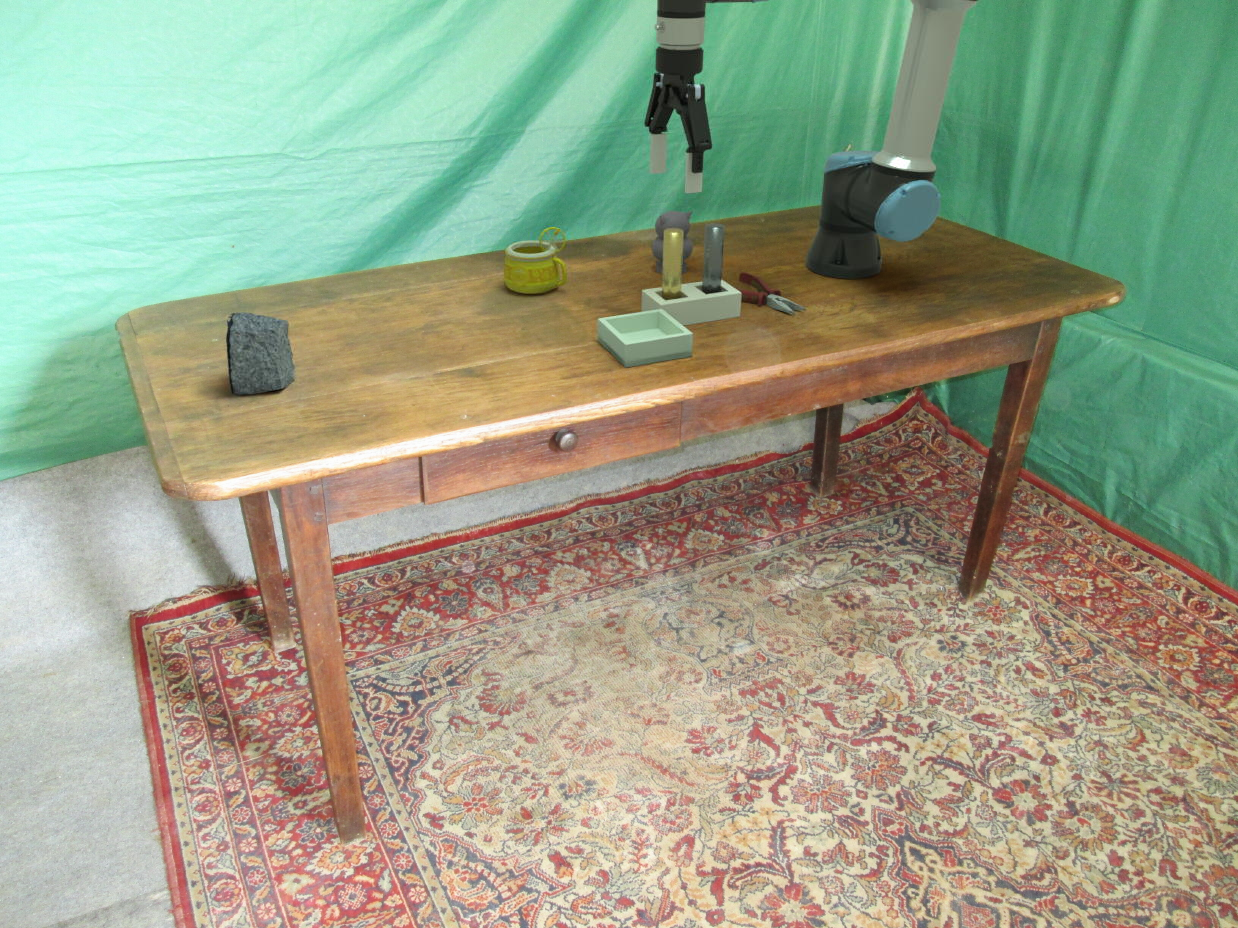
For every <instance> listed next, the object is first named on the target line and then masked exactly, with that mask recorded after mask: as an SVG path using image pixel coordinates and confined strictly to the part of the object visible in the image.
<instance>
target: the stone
mask: <svg viewBox="0 0 1238 928" xmlns="http://www.w3.org/2000/svg"><path fill="white" fill-rule="evenodd" d="M226 323H227V325H226V326H227V331H226V334H225V343H226V358H227V368H228V379H229V386H230V391H231V394H235V395H237V396H244V395H258V394H259V393H260V394H261V393H267V392H270V391H271V392H272V391H275V390H282V389H284V388H288V387H289V386H290V385H291V384H292V382H294V380H295V368H296V367H295V364H294V361H293V357H294V356H293V355H294V354H293V352H292V346H291V342H290V341H291V340H290V338H289V327H290V324H289V322H288V320H286V319H283V318H281V319H280V318H276V317H272V316H266V315H261V314H256V313H252V312H233V313H231V314H230V315H229V316H228V318H227V319H226Z"/></svg>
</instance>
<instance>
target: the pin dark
mask: <svg viewBox="0 0 1238 928" xmlns="http://www.w3.org/2000/svg"><path fill="white" fill-rule="evenodd" d="M725 228H726V226H725V224H722V223H718V222H710V223H706V224H705V227H704V240H703V241H704V242H703V247H704V248H703V260H702V261H703V263H702V281H701V282H702V292H703V293H705V294H712V293H719V292H721V279H722V280H723V278H722V277H723V261H724V259H723V258H724V246H725Z"/></svg>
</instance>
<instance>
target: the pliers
mask: <svg viewBox="0 0 1238 928" xmlns="http://www.w3.org/2000/svg"><path fill="white" fill-rule="evenodd" d="M738 280H739V282H741V283H744V284H747V285H749V286H752V287H754V288H755V289H756V290H758V291H756V290H755V291H754V290H749V289H748V290H747V289H739V288H736V289H737V290H738V291H740V292H741V293H742V296H741V303H747V304H755V305H757V307H758V308H762V306H768V307H770V308H772V309H774V310H777V311H781V312H784V313H788V314H791V315H796V312H795V311H804V312H805V311H806V310H807V309H806V307H803V306H802V305H799V304H798V303H796V302H794V301H792V300H789V299H788V298H786V297H783V296H781V295H782V292H781V291H780V290H779V289H771V288H770V286H768V284H767V283H766V282H765V281H764V280H763V279H762V278H760V277H759V276H757V275H754V274H751V273H748V272H740V273H739V277H738Z"/></svg>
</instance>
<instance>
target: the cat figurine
mask: <svg viewBox="0 0 1238 928" xmlns="http://www.w3.org/2000/svg"><path fill="white" fill-rule="evenodd" d="M693 211H694V210H691V211H686V212H681V211H677V210H669V211H665V212H663V213H661V214H660V215H659V216H658V218H657V219H656V221H655V223H654V227H655V228H654V230H655V232H656V234H657V237H656V238H654V240H653V242H652V244H651V251H652V255H653V256H654V258H655V259H657V261H656V262H655V271H656V273H658V274H661V275H663V244H664V230H665V229H668V228H678V229H682V230H683V231H684V235H683V260H682V275H684V274H685V273H687V271H688V263H687V262H686V260H687V259H689V257H690V256H691V255H692V252H693V250H694V245H693V242H692V240H691V239H690V237H689V236H687V235H688V233H689V232H690V229H691V223H690V219H691V216H692V214H693Z"/></svg>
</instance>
